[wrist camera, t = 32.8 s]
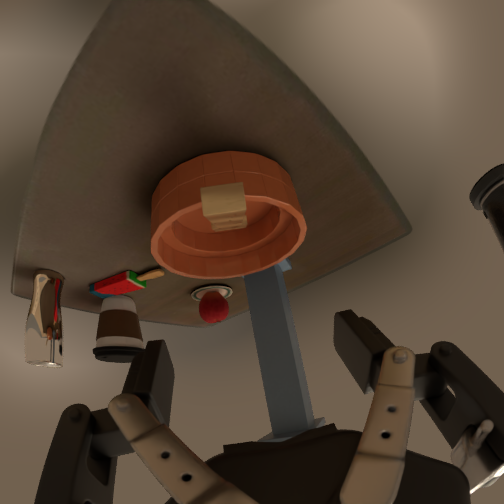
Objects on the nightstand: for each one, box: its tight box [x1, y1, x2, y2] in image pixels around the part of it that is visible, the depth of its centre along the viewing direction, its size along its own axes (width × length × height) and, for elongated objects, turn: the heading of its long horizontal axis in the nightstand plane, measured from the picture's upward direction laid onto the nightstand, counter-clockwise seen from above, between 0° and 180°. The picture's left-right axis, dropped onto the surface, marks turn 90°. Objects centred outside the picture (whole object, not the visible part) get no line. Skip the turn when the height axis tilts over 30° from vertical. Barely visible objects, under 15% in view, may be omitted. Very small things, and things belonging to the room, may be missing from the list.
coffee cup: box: [93, 295, 145, 363], centre depth 49 cm, size 11×11×12 cm
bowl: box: [151, 151, 307, 279], centre depth 30 cm, size 16×16×6 cm
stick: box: [200, 182, 247, 232], centre depth 24 cm, size 18×4×2 cm, turn 2°
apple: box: [192, 286, 232, 323], centre depth 54 cm, size 8×8×6 cm
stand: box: [242, 257, 325, 442], centre depth 40 cm, size 12×8×28 cm, turn 22°
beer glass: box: [25, 269, 64, 368], centre depth 35 cm, size 7×7×15 cm
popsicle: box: [89, 269, 164, 299], centre depth 44 cm, size 5×2×15 cm
